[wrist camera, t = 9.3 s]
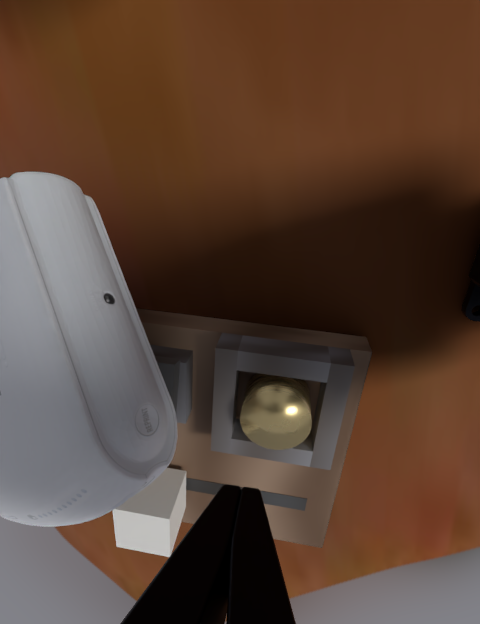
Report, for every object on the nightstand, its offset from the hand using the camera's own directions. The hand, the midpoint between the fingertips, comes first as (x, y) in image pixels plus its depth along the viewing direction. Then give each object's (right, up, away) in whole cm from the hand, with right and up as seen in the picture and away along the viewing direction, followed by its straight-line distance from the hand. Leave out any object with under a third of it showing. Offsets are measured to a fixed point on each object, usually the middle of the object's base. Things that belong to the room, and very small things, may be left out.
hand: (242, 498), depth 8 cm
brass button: (+2, 0, +10) cm, 10 cm away
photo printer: (-11, +8, +8) cm, 15 cm away
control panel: (-1, -3, +13) cm, 13 cm away
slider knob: (-5, -6, +13) cm, 16 cm away
